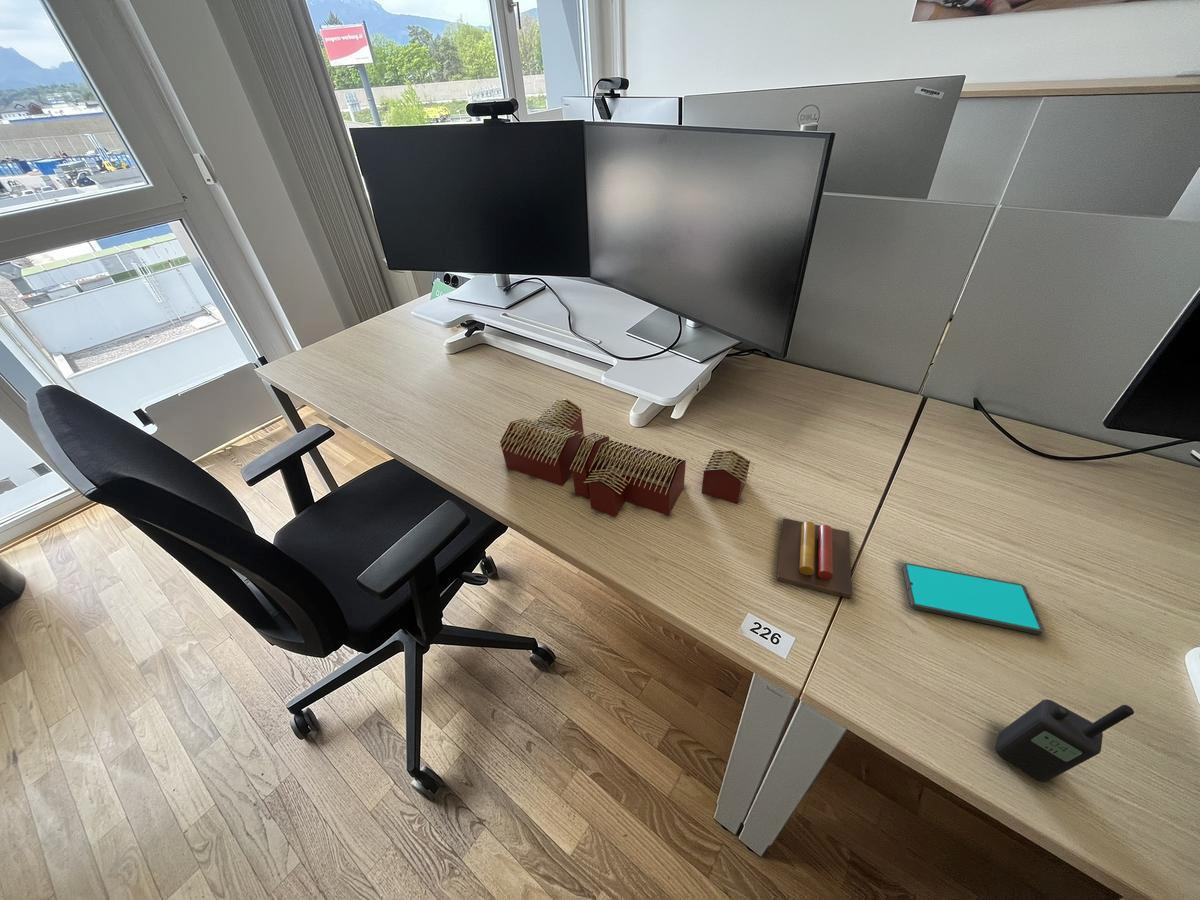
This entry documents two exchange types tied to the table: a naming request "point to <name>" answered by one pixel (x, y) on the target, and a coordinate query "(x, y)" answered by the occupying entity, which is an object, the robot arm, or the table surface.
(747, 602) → the table surface
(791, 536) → the rod rack
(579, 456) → the toy houses
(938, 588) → the smartphone
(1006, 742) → the walkie-talkie
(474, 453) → the table surface
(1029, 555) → the table surface
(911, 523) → the table surface
